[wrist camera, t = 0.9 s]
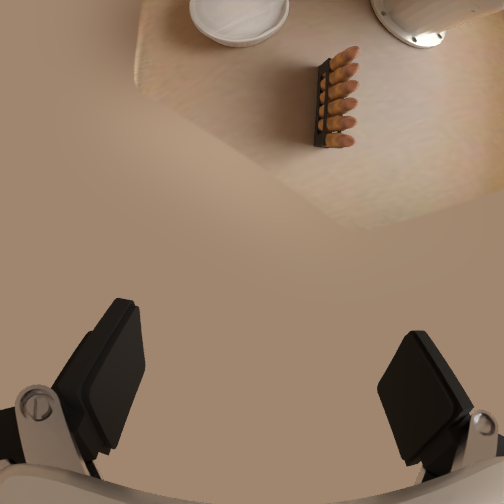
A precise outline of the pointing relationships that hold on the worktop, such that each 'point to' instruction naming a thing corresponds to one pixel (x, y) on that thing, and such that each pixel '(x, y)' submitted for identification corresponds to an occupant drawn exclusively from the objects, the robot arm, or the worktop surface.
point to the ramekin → (238, 20)
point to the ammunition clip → (336, 100)
